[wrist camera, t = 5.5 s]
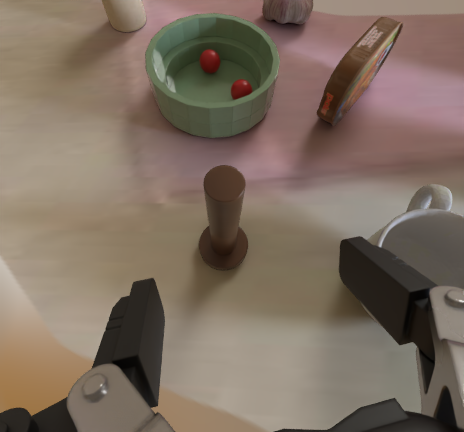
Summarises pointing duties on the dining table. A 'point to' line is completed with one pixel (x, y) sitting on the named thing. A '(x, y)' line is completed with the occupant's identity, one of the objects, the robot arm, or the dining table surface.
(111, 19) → the candle
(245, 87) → the berry
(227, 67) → the bowl
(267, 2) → the garlic bulb
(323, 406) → the dining table surface
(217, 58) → the berry
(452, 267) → the teacup
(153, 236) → the dining table surface
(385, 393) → the dining table surface
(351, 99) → the tin
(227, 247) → the muddler
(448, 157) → the dining table surface
